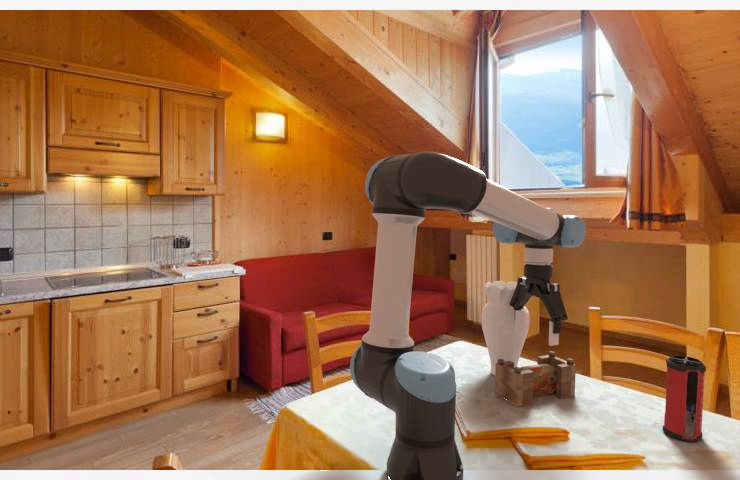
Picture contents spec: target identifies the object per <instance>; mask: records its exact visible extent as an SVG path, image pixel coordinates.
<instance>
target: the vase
mask: <svg viewBox="0 0 740 480" xmlns="http://www.w3.org/2000/svg"><path fill="white" fill-rule="evenodd" d="M516 286H517V281H512V280H511V281H508V282H505V281H503V280H495V281H493V282H491V281H488V282H486V283H485V284H484V285H483V290H484V293H485V294H486V297H487V299H488V302H487V303H485V304H484V306H483V307H482V309H481V317H480V319H481V329H482V332H483V338H484V340H485V345H486V348H487V352H488V356H489V360H490V374H491V375H493V376H494V377H495V373H496V363H497V362H498V359H503V360H504V362H505V361H512V362H514V367H518V363H519V361H520V357H521V355H522V354H521V353H522V351H523V347H524V344H525V343H526V338H527V336H528V332H529V327H530V312H529V311H530V310H529V309H528V308H527V307H526V305H525V306H524V309H521V310H525V313H524V332H520V333H515V319H514V312H515V310H514V308H513V307H512V306H510V305H509V304H510V301H511V298H512V296H513V293H514V291H515V288H516Z"/></svg>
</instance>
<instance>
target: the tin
mask: <svg viewBox="0 0 740 480" xmlns="http://www.w3.org/2000/svg"><path fill="white" fill-rule="evenodd" d="M519 367H520V366H519ZM520 368H521V371H524V370H530V371H533V398H535V397H536V398H537V397H542V396H543V397H544V396H550V395H552V394H555V393H556V388H557V368H555V367H554V366H551V365H548V364H539V365H537V364H533V365H526V366H521V367H520Z"/></svg>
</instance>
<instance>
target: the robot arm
mask: <svg viewBox="0 0 740 480" xmlns="http://www.w3.org/2000/svg"><path fill="white" fill-rule="evenodd" d="M364 181H365V183H364V190H365V191H364V192H365V195H366V197H367V198H368V200H369V203H370V204H372V212H371V213H372V217H373V218H374V219H375V221H376V222H377V233H376V248H375V258H374V259H375V260H374V270H373V281H372V282H373V283H372V285H373V286H372V294H371V295H372V297H371V306H370V317H369V318H370V319H369V329H368V331H367V332H366V333H364V334H363V336H362V337H361V343H360V344H359V345H358V346H357V348H356V351H353V353H352V356H351V359H350V362H349V363H350V365H349V372H350V376H351V380H352V382H353V384H354V385H355V386H356V388H358V389H359V390H360V391H361V393H363V394H364V395H365V396H366V397H369V398H370V399H373V400H374V401H377V402H378V403H379V404H381V405H382V406H384V407H385V408H387V409H389V410H390V411H392V412H393V413H394V414H395V436H394V438H393V442H392V445H391V448H390V452H389V454H388V458H387V461H386V475H387V474H388V476H389V477H390V479H391V480H464V465H463V461H462V458H461V456H460V452H459V449H458V446H457V442H456V438H455V437H456V436H455V435H456V432H455V430H456V405H457V404H456V403H457V402H456V401H457V381H456V372H455V369H454V366H453V365H452V364H451V363H450V361H448V360H447V359H446V358H444V357H442V356H440V355H438V354H436V353H433V352H430V353H427V352H426V351H421V350H420V351H419V350H418V351H414V345H415V340H413V338H412V337H411V336H410V335H409V324H410V313H411V300H412V290H413V277H414V265H415V255H416V254H415V253H416V243H417V230H418V226H419V225H420V224H421V223H422V222H423V221H424V220H425V219H426V209H428V210H429V209H434V210H435V209H436V210H448V211H453V212H456V213H459V214H462V215H467V214H468V215H469V214H470V213H472V214H474V215H477V216H479V217H482V218H483V219H487V220H489V221H492V222H493V226H492V227H493V228H492V229H493V230H492V233H493V236H494V237H495V239H496V240H497V241H498V242H499V243H502V244H508V245H510V244H511V245H512V244H524V250H523V251H524V252H523V253H524V254H523V261H524V262H525V263H524V265H523V277H522V276H521V277H518V278H517V281H516V282H517V286H516V288H515V291H514V293H513V296H512V298H511V301H510V304H509V305H510V306H512V307H513V308H514V310H515V312H514V319H515V333H520V332H524V313H525V310H521V309H524V306H525V307H526V305H527V303H528V302H529V300H530V299H531V298H532V297H536V298H539V300H540V301H542V303H543V305H544V307H545V308H546V309H545V310H546V311H547V313H548V314H549V317H550V320H549V322H548V323H549V325H548V327H549V328H548V346H550V347H552V346H559V341H560V334H561V329H562V328H561V327H562V322H565V321H568V319H569V318H568V315H567V312H566V308H565V305H564V301H563V299H562V295H561V292H560V283H551V281H550V280H551V279H552V278H553V270H554V268H553V267H554V265H553V264H551V263H554V247H560V248H561V247H562V248H563V249H564V248H565V249H566V248H578V247H579V246H581V245H582V243H583V242H584V240H585V238H586V233H587V227H586V226H587V225H586V223H585V221H584V220H583V218H581V217H580V216H577V215H571V214H567V215H563V214H560V213H558V212H556V211H555V210H554V209H553V208H552V207H545V206H543V205H542V204H539V203H537V202H535V201H533V200H531V199H528V198H526V197H525V196H522V195H521V194H519V193H516V192H515V191H512V190H510V189H508V188H506V187H504V186H502V185H500V184H498V183H496V182H494V181H491V180H489V179H487V175H486V173H485V172H483V170H480V169H478V168H477V167H475V166H472V164H471V165H470V164H468V163H466V162H464V161H462V160H459V159H458V158H454V157H451V156H449V155H447V154H443V153H440V152H437V151H419V152H415V153H414V152H413V153H406V154H405V153H404V154H397V155H396V154H394V155H390V156H386V157H385V158H382V159H379V160H378V161H377V162H375V163H374V164H373V165H371V167H370V169H369V170H368V172H367V174H366V177H365V180H364Z"/></svg>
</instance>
